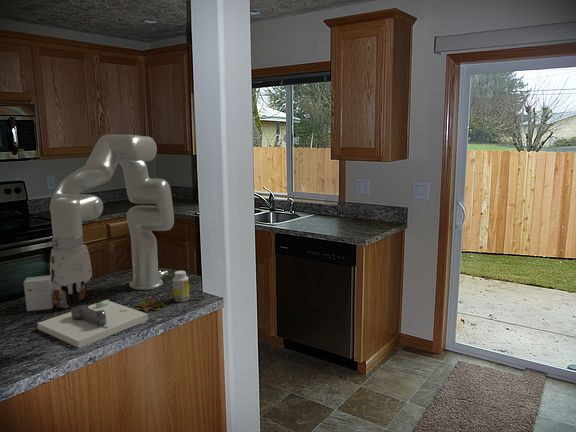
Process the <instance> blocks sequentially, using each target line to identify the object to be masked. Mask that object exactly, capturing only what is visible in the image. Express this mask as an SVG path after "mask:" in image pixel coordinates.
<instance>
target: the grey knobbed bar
mask: <svg viewBox="0 0 576 432" xmlns="http://www.w3.org/2000/svg"><path fill="white" fill-rule="evenodd" d="M88 306H89V305H87V304H79V306H75V307H71V309H70V312H71V314H72V319H74V320H82V319H83V320H86V321H89V322H91V323H94V324H96V325H98V326H103V325H105V324H106V315H105V311H104V310H100V311H94V310H92V309H89V308H88Z"/></svg>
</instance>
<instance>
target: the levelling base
mask: <svg viewBox="0 0 576 432" xmlns="http://www.w3.org/2000/svg"><path fill="white" fill-rule="evenodd" d="M87 306H88V308H89V309H92V310H94V311H100V310H104V311H105V315H106V324H105V325H103V326H98V325H96V324H94V323H91V322H89V321H86V320H83V319H82V320H74V319H72V314H71V311H70V312H67V313H62V314H61V315H58V316H54V317H52V318H49V319H46V320H43V321H40V322H37V330H39V331H41V332H43V333H46V334H48V335H50V336H51V337H54V338H57V339H58V340H61V341H63V342H65V343H67V344H69V345H72V346H74V347H76V348H77V349H78V348H79V349H80V348H83V347H84V346H87V345H90V344H92V343H95V342H97V341H100V340H102V339H105V338H107V337H109V336H112V335H114V334H116V333H119V332H121V331H124V330H126V329H129V328H131V327H134V326H136V325H139V324H141V323H143V322H147V321H148V320H149V315H148V313H147V312H143V311H141V310H135V308H132V307H128V306H125V305H122V304H119V303H116V302H114V301H110V300H109V299H105V300H102V301H99V302H95V303H93V304H90V305H87Z"/></svg>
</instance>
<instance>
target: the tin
mask: <svg viewBox="0 0 576 432" xmlns="http://www.w3.org/2000/svg"><path fill="white" fill-rule="evenodd" d="M86 283H87V282H86ZM86 283H84V284H83V286H82V287H81V290H80V291H79V302H80V301H82V300H83V299H84V298H85V296H86V294H87V284H86ZM71 285H72V284H71ZM53 292H54V293H53V299H54V305H55V306H56V307H57V308H60V309H69V308H70V307H71V306H68V304H67V302H66V293H65V292H64V291H62V290H54V289H53Z"/></svg>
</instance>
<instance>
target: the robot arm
mask: <svg viewBox="0 0 576 432" xmlns="http://www.w3.org/2000/svg"><path fill="white" fill-rule="evenodd" d="M155 141H156V140H154V139H153V138H152V137H151V136H148V135H147V136H146V135H144V136H143V135H137V134H115V133H114V134H112V133H111V134H103V135H102V136H101V137H100V138H98V140H97V142H96V143H95V145H94V147H93V149H92V151H91V153H90V155H89V157H88V159H87V161H86V162H85V165H83V166H81V167H80V168H78V169H76V170H75V171H73V172H72V173H70V174H69V175H67V176H66V177H64V178H63V179H62V180H61V181H60V182H59V184H58V185H57V186H56V187H55V188H56V189H55V191H54V192H53V195H52V196H51V198H50V201H49V211H50V217H51V229H52V230H51V231H52V240H51V241H49V242H48V246H49V247H53V248H51V250H50V251H51V252H50V261H49V275H50V277H51V282H52V283H53V284H52V289H53V291H54V290H62V291H64V292H65V293H66V302H67V304H68V306H70V307H71V308H72V307H75V306H79V305H80V301H79V291H80V290H81V287H82V286H83V284H84V283H88V282H90V280H91V278H92V276H93V273H92V270H93V269H92V263H91V258H90V253H89V250H88V247H87V244H84V237H83V221H84V222H85V221H93V220H96V219H98V218H99V217H101V215H102V213H103V211H104V202H103V200H102V199H101V198H100V197H98V196H97V195H95V194H94V195H93V194H83V193H82V192H83V191H85V190H86V191H87V190H88V189H92V188H96V187H99V186H101V185H103V184H106V183H108V182H110V181H111V179H112V177H113V175H114V173H115V171H116V169H117V167H118V164H119V165H120V167H121V169H122V172H123V177H124V178H123V179H124V183H125V188H126V189H125V190H126V196H127V198H128V200H129V202H130V203H133V204H138V205H135V206H132V207H130V208H129V209H128V210H127V212H126V221H127V226H128V230H129V235H130V243H131V244H130V246H131V247H130V248H131V260H132V263H131V265H132V278H133V279H132V280H131V281H130V282H129V287H130V288H131V289H132V290H136V291H137V290H139V291H145V290H146V291H147V290H153V289H157V288H159V287H161V286H162V285H163V284H164V281H163V279H162V278H163V277H164V276H168V275H169V271H168V270H163V271H162V270H159V259H158V242H157V241H158V240H157V237H156V236H155V234H154V233H153V231H156V232H157V231H158V232H161V231H162V232H167V231H170V230H171V229H172V228H173V227H174V224H175V214H174V207H173V206H174V205H173V198H172V191H171V186H170V184H169V182H168V181H167V180H166V179H164V178H163V179H162V178H150V176H149V171H148V165H147V163H146V162H151V161H153V160H154V159H155V157H156V155H157V151H158V149H157V148H158V146H157V143H156V142H155ZM139 204H140V205H139ZM71 284H72V285H71Z"/></svg>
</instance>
